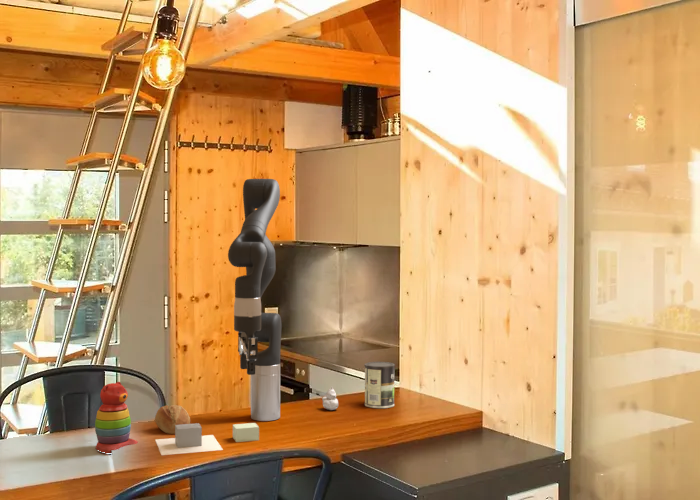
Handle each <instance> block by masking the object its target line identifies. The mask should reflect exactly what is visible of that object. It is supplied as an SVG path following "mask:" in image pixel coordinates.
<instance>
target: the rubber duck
mask: <svg viewBox="0 0 700 500" xmlns="http://www.w3.org/2000/svg"><path fill="white" fill-rule="evenodd" d="M325 393H326V394H325V396H323V397H322V406H323V408H324V409H325V410H328V411H335V410H336V409H338V407H339V399H338V398H337V393H336V391H335V389H334V388H333V386H331V387H330V388H329V389H328V390H327V391H326V392H325Z"/></svg>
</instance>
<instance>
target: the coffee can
mask: <svg viewBox="0 0 700 500" xmlns="http://www.w3.org/2000/svg"><path fill="white" fill-rule="evenodd" d="M395 366H396V364H395V363H393V362H388V361H369V362H365V363H364V406H365V407H367V408H369V409H370V408H372V409H388V408H393V407H395V405H396V404H395Z"/></svg>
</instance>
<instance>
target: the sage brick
mask: <svg viewBox="0 0 700 500" xmlns="http://www.w3.org/2000/svg"><path fill="white" fill-rule="evenodd" d="M232 439H233V440H234V441H235V443H241V442H243V443H244V442H255V441H260V427H259V425H258V424H257V423H256V422H248V423H236V424H232Z"/></svg>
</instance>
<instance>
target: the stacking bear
mask: <svg viewBox="0 0 700 500" xmlns="http://www.w3.org/2000/svg"><path fill="white" fill-rule="evenodd" d="M99 395H100V400H101V403H102V404H101V405H100V407H98V408H99V409H98V410H97V412H96V415H95V416H96V417H95V421H94V429H95V434H96V437H97V438H96V439H97V442H96V445H95V449H97V450H99V451H101V452H105V453H112V451H116V450H120V448H123V447H126V446H133V445H137V444H139V441H138V440H136V439H134V438H130V432H131V427H132V419H131V416H130V411H129V407H128V405H127V404H126V401H127V399H128V398H129V397H128V396H129V393H128V391H127V389H126V388H125V387H124V386H123V385H122V383H121V382H120V381H116V382H113V383H107V384H105V385H103V387H102V389H101V390H100V393H99ZM97 450H96V451H97ZM112 454H113V453H112Z"/></svg>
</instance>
